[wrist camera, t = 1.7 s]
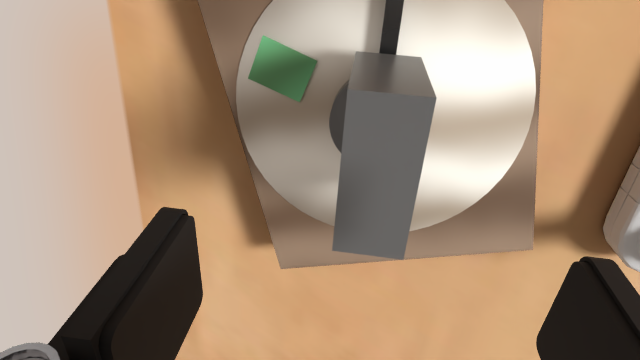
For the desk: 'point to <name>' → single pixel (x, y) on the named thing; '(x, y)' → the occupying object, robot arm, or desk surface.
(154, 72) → the desk surface
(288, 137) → the board
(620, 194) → the electronic device
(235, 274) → the desk surface
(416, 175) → the dark grey boxy piece
